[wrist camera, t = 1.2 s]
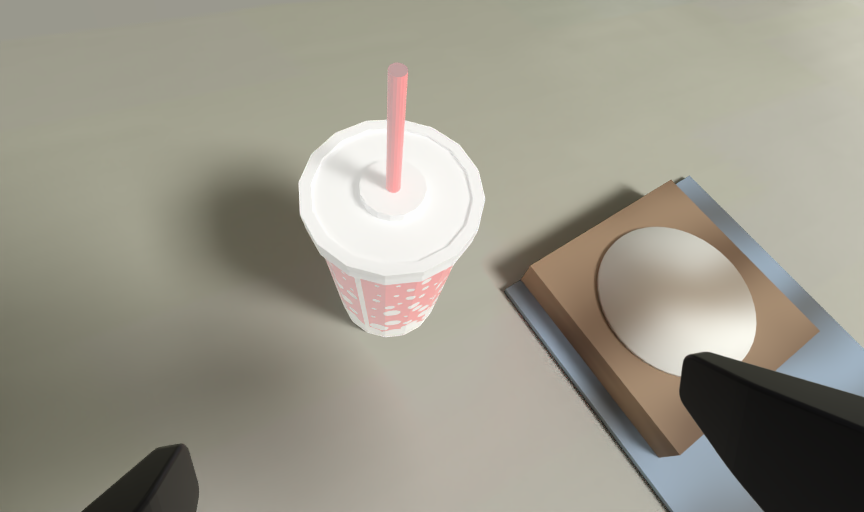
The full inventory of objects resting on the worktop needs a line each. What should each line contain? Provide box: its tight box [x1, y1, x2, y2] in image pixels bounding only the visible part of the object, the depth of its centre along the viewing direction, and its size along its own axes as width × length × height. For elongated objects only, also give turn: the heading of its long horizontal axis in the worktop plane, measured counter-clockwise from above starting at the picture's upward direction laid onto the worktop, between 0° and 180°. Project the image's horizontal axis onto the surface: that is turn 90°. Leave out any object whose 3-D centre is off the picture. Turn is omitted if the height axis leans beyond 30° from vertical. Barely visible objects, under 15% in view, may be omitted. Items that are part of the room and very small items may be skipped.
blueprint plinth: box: [504, 176, 864, 512], centre depth 23 cm, size 16×14×2 cm
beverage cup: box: [299, 63, 485, 337], centre depth 17 cm, size 6×6×14 cm
